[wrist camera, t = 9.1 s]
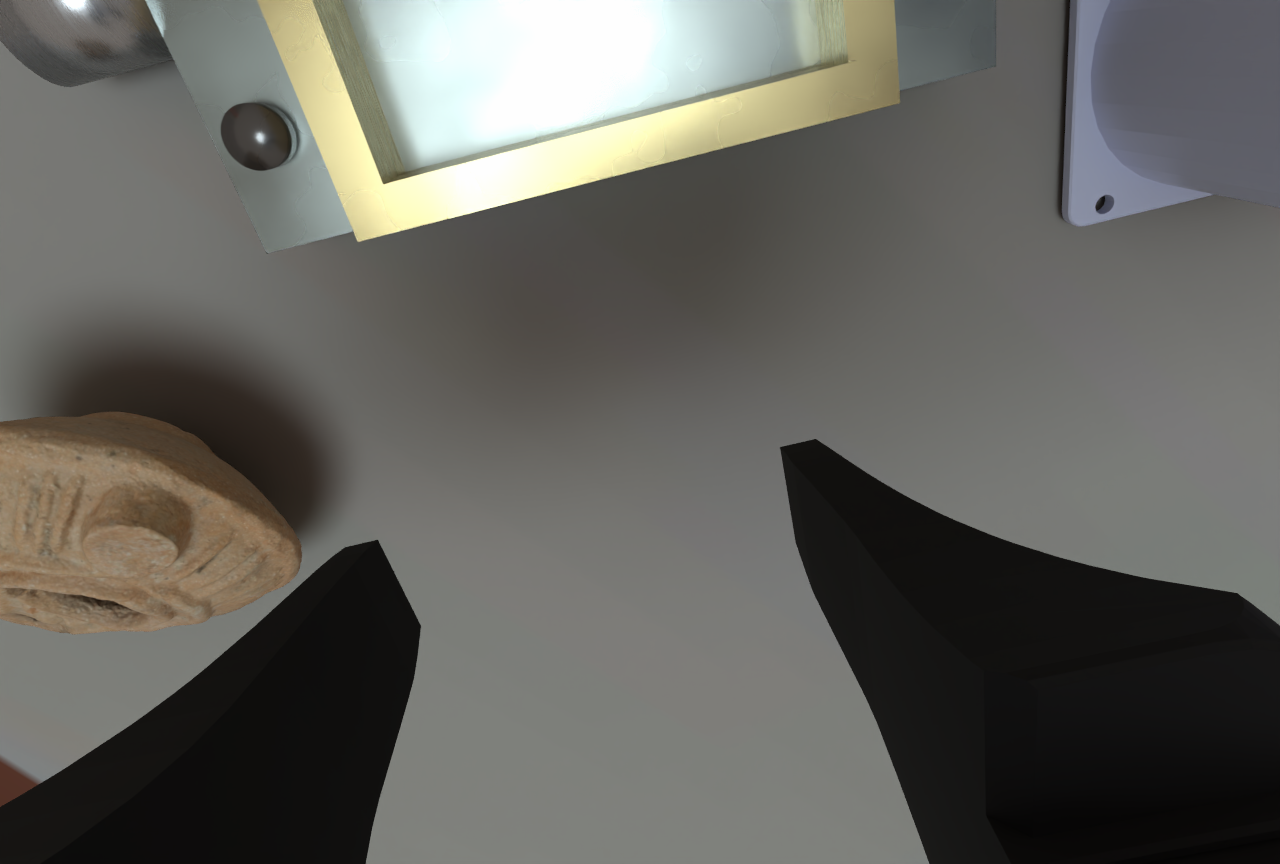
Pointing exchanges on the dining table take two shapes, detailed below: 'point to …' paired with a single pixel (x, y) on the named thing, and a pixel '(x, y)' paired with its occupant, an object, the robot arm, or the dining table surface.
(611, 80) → the metal tray
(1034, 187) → the dining table surface
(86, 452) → the pottery oil lamp
